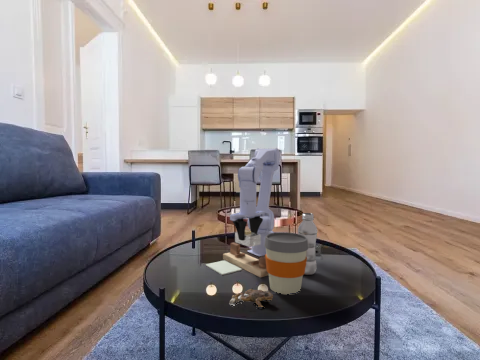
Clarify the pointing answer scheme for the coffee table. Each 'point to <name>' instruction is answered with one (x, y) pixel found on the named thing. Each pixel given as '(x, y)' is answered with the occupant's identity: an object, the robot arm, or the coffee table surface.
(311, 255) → the plastic bottle
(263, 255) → the robot arm
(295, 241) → the reusable coffee cup
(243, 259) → the hand plane
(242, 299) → the frog figurine
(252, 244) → the brass-inlaid steel block
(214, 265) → the felt pad
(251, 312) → the coffee table surface
